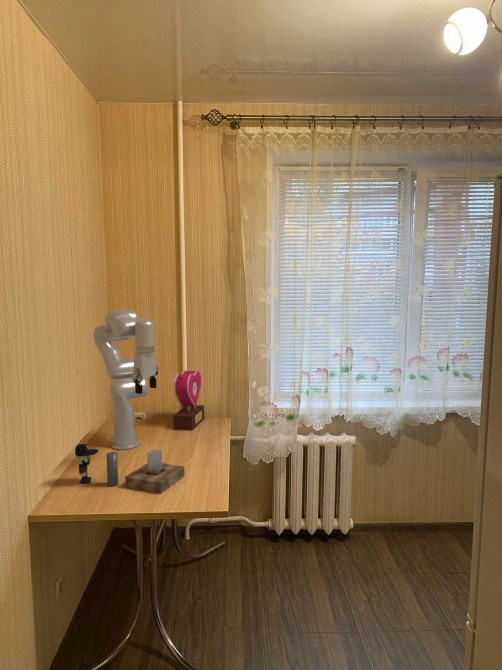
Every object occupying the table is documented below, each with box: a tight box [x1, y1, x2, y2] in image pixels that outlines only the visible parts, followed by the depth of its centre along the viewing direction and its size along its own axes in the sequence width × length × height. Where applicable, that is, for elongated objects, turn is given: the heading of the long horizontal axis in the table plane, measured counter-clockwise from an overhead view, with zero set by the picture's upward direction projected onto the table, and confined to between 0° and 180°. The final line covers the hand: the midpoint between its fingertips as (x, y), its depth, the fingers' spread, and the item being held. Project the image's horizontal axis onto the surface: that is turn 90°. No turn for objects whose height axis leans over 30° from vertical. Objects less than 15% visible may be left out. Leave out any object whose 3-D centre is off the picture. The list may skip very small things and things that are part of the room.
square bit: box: [146, 448, 163, 476], centre depth 180 cm, size 4×4×12 cm
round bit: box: [106, 451, 119, 487], centre depth 179 cm, size 4×4×12 cm
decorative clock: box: [172, 369, 206, 432], centre depth 250 cm, size 25×10×30 cm, turn 168°
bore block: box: [124, 462, 185, 495], centre depth 181 cm, size 16×16×4 cm
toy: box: [74, 443, 99, 484], centre depth 181 cm, size 8×8×15 cm
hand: (146, 390), depth 196 cm, fingers open, 9 cm apart
